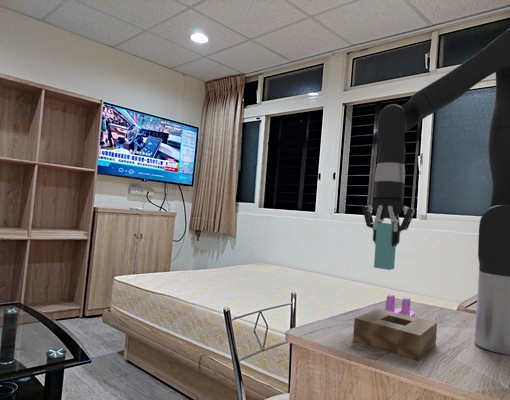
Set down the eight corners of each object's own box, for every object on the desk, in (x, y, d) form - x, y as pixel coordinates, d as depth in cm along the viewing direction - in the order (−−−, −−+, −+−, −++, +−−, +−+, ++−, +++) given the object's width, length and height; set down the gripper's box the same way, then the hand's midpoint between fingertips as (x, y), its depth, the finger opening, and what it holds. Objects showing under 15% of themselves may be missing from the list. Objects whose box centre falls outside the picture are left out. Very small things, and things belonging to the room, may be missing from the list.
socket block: (435, 344, 85) (437, 322, 85) (418, 360, 74) (420, 335, 75) (376, 328, 94) (377, 308, 94) (353, 340, 83) (354, 318, 83)
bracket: (405, 325, 100) (407, 299, 100) (384, 320, 103) (386, 295, 103) (416, 316, 110) (418, 292, 110) (397, 311, 113) (398, 289, 114)
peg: (394, 268, 99) (397, 224, 99) (389, 269, 96) (391, 223, 96) (379, 266, 102) (382, 222, 102) (373, 267, 98) (376, 222, 99)
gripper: (421, 182, 98) (417, 247, 97) (369, 182, 107) (365, 241, 106) (413, 179, 92) (408, 248, 91) (358, 179, 101) (354, 242, 100)
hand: (385, 244), depth 99 cm, fingers closed on peg, 4 cm apart
